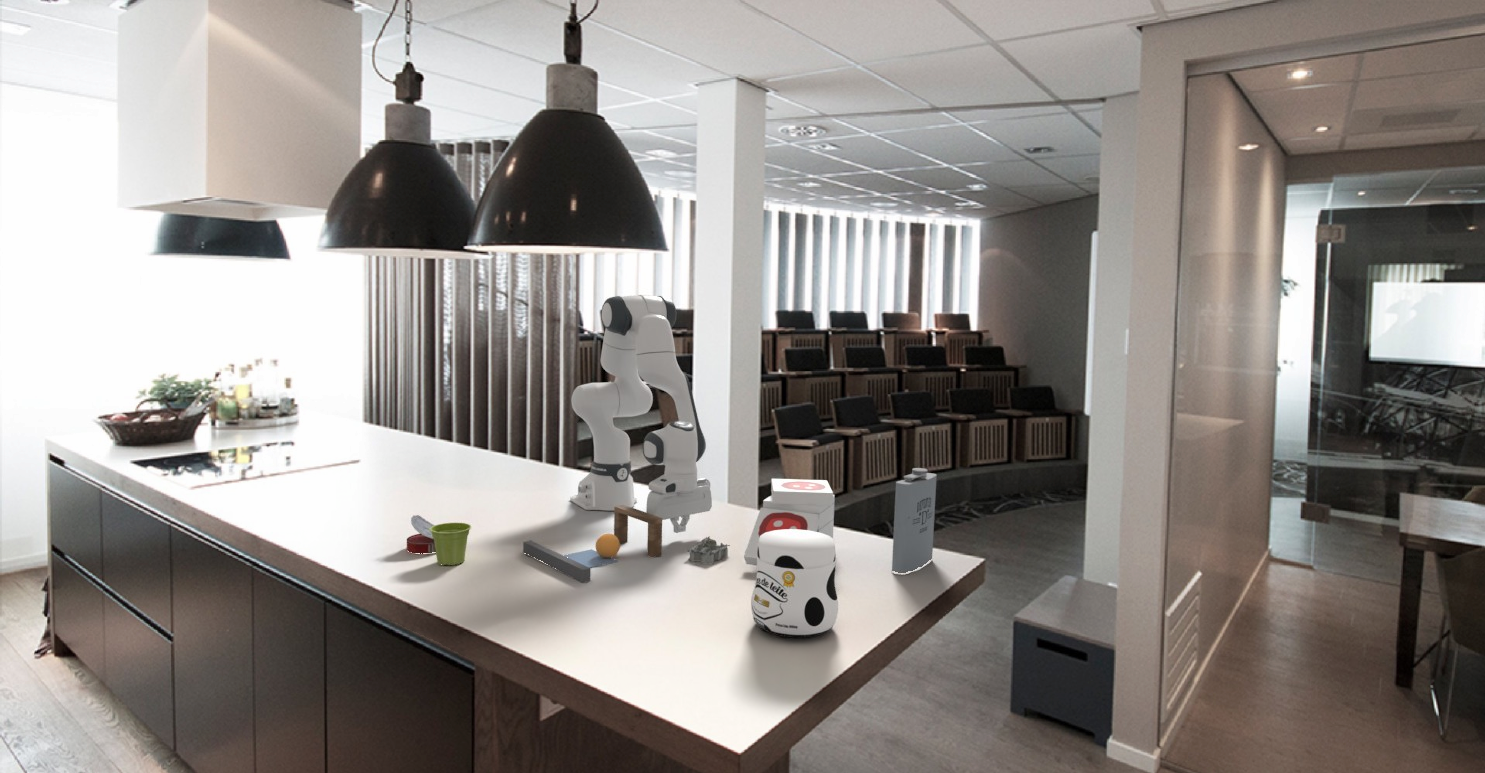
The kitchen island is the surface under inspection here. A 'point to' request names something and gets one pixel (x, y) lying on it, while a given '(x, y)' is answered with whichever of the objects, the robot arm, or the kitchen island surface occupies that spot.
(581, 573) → the stopper wall
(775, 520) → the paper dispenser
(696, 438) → the robot arm
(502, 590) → the kitchen island surface
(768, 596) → the milk container
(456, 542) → the plant pot
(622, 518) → the bridge
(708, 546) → the egg carton
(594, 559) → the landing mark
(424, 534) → the canned food
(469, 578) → the kitchen island surface
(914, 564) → the flask
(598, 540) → the ball
